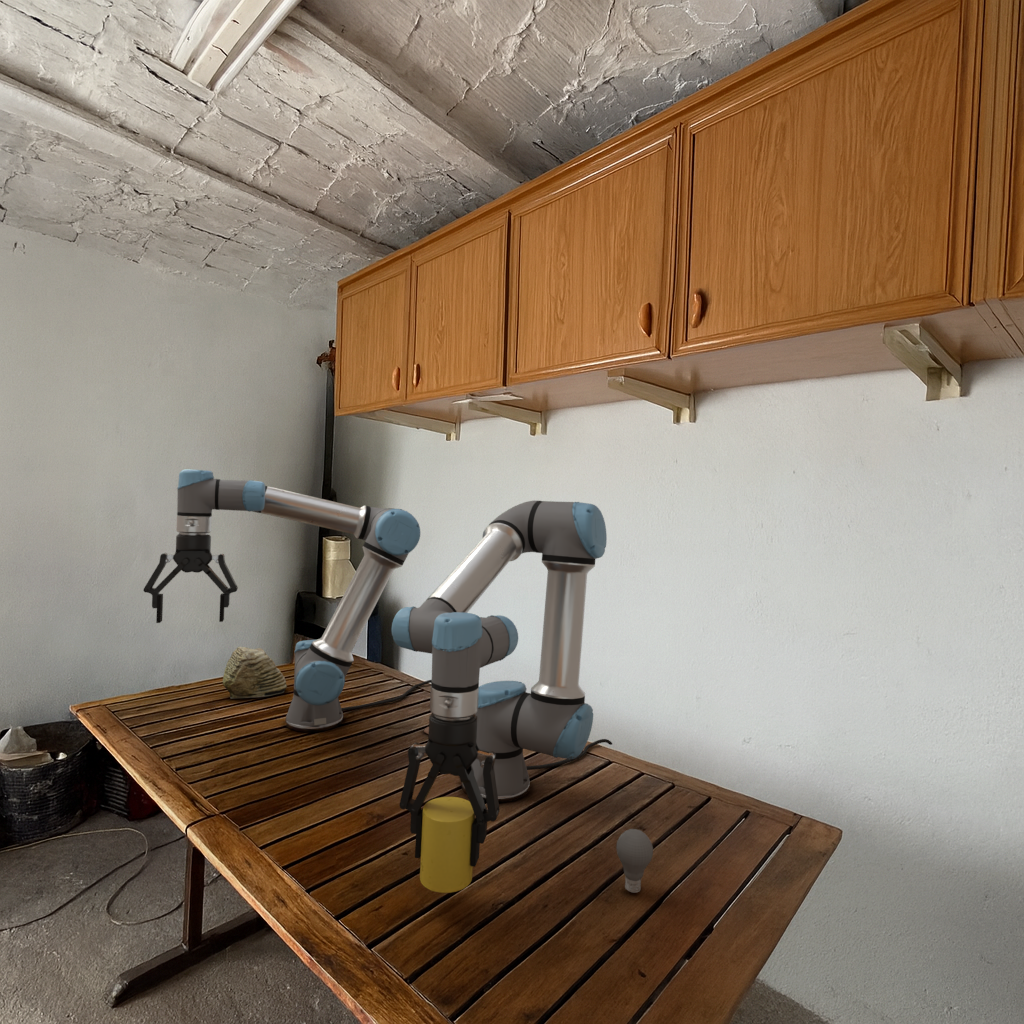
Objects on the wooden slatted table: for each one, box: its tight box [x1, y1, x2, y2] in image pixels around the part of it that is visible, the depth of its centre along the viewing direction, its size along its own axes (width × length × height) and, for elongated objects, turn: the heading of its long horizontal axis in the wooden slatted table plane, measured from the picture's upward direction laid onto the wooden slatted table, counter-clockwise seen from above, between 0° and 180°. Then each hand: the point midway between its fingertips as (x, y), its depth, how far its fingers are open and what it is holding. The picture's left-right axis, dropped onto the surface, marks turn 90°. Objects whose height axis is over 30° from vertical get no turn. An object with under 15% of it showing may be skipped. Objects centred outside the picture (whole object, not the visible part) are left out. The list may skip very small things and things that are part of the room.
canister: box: [419, 796, 476, 894], centre depth 99 cm, size 8×8×11 cm
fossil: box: [222, 646, 288, 699], centre depth 198 cm, size 9×18×15 cm, turn 132°
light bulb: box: [615, 828, 654, 894], centre depth 106 cm, size 6×6×10 cm
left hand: (190, 621), depth 153 cm, fingers open, 13 cm apart
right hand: (447, 857), depth 99 cm, fingers closed on canister, 8 cm apart
